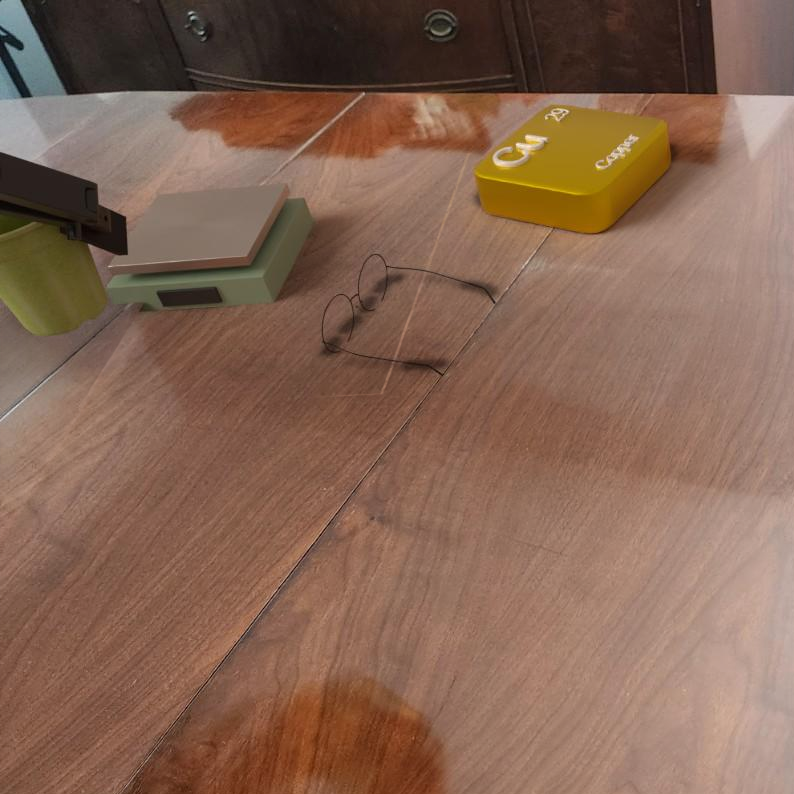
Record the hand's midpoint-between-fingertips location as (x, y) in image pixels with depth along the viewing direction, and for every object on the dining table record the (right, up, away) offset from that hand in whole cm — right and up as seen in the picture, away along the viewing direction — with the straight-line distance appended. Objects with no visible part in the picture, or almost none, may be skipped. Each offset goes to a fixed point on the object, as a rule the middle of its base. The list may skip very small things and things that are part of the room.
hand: (59, 241), depth 81 cm
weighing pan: (+1, +9, +27) cm, 28 cm away
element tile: (+37, +15, +30) cm, 50 cm away
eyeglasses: (+23, -3, +17) cm, 29 cm away
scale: (+2, +7, +30) cm, 30 cm away
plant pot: (0, -5, +1) cm, 5 cm away
